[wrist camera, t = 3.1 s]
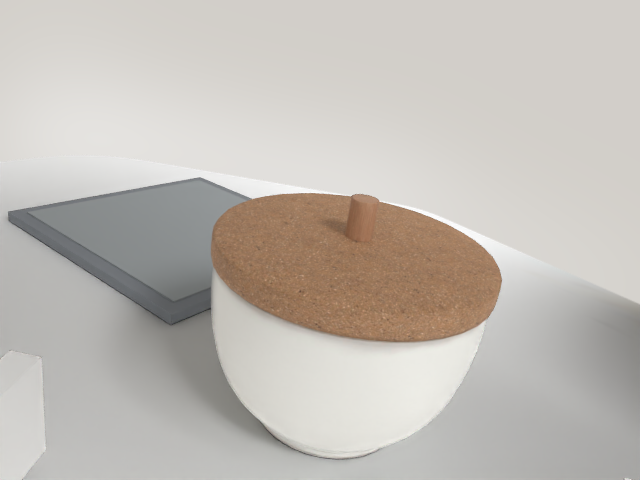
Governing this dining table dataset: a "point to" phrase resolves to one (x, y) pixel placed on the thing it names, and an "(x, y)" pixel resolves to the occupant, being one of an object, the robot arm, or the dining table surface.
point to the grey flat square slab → (141, 241)
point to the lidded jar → (345, 317)
